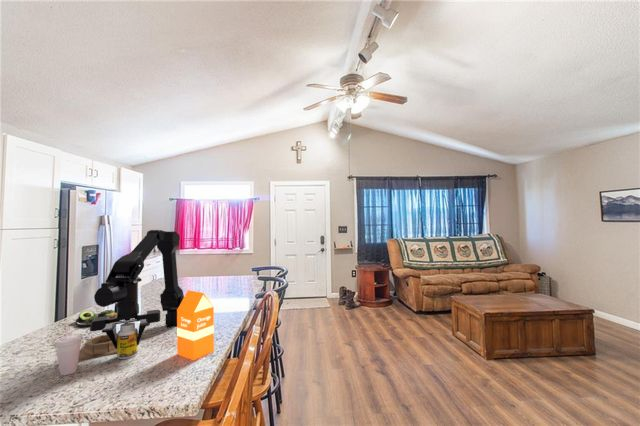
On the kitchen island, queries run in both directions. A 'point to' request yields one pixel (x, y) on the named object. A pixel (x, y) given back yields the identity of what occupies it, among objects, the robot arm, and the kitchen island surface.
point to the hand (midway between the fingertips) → (127, 346)
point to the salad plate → (93, 317)
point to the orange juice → (195, 326)
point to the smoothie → (68, 352)
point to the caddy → (97, 347)
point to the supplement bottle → (127, 341)
